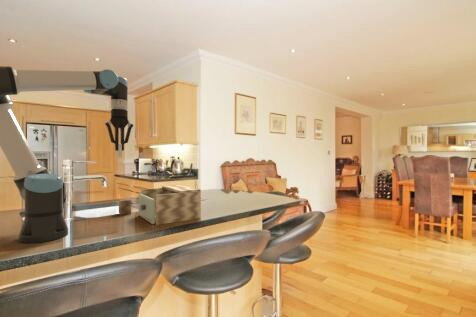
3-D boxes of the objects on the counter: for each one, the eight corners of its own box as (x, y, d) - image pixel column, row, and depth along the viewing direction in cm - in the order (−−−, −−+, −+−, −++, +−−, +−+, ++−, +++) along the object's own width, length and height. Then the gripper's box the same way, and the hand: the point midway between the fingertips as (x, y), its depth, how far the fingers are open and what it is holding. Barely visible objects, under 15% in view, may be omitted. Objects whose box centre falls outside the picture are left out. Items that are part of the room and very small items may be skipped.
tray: (148, 224, 118) (148, 200, 118) (135, 215, 137) (135, 194, 137) (196, 217, 131) (196, 195, 131) (178, 210, 150) (178, 190, 150)
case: (156, 224, 119) (156, 192, 119) (141, 214, 140) (140, 187, 140) (200, 218, 131) (200, 189, 131) (180, 210, 152) (180, 184, 152)
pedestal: (120, 214, 140) (120, 201, 140) (118, 213, 144) (118, 199, 144) (131, 213, 143) (130, 200, 143) (128, 211, 147) (128, 198, 147)
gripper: (106, 106, 127) (106, 157, 127) (135, 109, 135) (135, 157, 135) (103, 109, 133) (103, 157, 134) (131, 111, 141) (131, 157, 141)
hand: (119, 157), depth 134 cm, fingers closed
